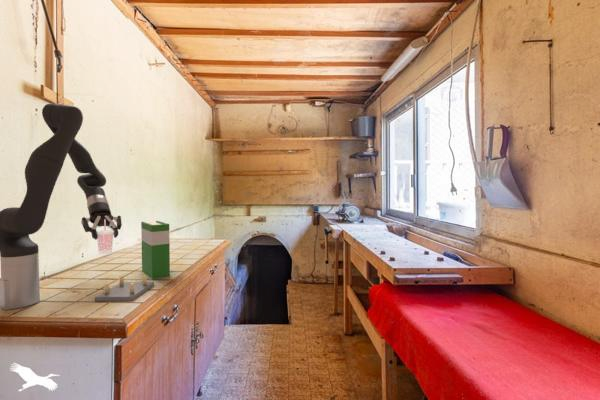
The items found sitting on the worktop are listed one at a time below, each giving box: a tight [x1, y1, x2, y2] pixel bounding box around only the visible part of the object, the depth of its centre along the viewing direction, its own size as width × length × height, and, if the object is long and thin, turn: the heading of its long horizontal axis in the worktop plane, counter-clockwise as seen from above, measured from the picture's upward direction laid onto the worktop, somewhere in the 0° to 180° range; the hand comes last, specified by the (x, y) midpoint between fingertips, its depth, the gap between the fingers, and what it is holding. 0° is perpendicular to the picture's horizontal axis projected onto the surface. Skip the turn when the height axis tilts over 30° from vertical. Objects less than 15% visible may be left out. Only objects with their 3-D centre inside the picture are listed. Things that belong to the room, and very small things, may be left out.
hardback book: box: [140, 220, 171, 280], centre depth 131 cm, size 18×7×24 cm, turn 43°
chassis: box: [94, 275, 155, 302], centre depth 106 cm, size 16×13×5 cm
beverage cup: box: [96, 219, 114, 255], centre depth 114 cm, size 6×6×14 cm
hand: (106, 237), depth 113 cm, fingers closed on beverage cup, 6 cm apart
